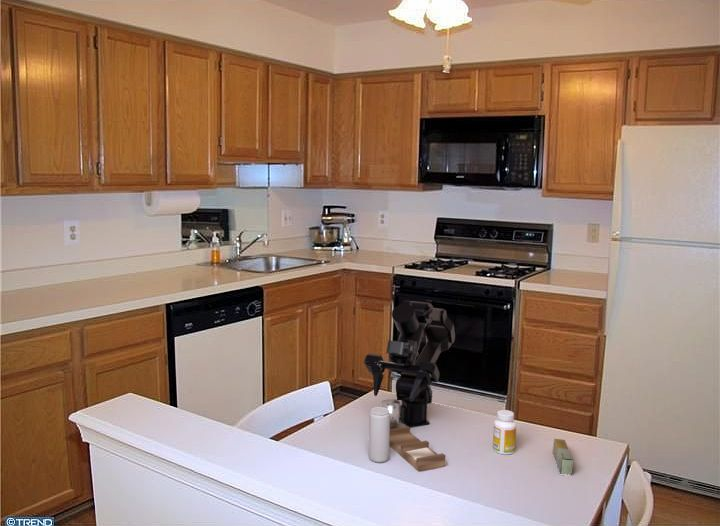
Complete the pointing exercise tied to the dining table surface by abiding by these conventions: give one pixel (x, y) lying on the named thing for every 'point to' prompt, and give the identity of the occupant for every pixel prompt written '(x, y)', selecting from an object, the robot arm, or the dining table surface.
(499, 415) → the supplement bottle
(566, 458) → the medication box
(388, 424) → the beverage can
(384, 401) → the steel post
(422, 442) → the walnut rail
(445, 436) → the dining table surface
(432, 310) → the robot arm
